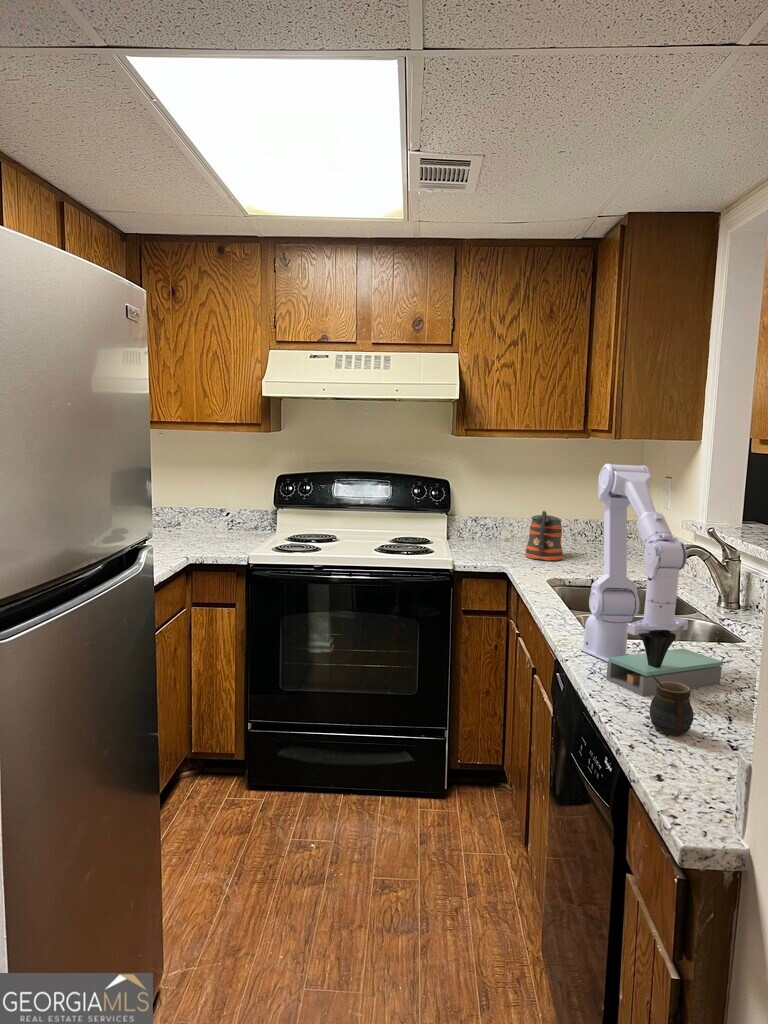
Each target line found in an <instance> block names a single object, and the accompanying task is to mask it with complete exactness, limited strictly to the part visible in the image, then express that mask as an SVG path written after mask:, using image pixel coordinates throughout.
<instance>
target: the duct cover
mask: <svg viewBox="0 0 768 1024" xmlns="http://www.w3.org/2000/svg"><path fill="white" fill-rule="evenodd" d="M609 662H612V663H614V664H617V665H619V666H622V667H624V668H627V669H629V670H632V671H634V672H637V673H639V674H642V675H644V676H652V675H660V674H667V673H674V672H681V671H688V670H695V669H702V668H709V667H716V666H722V667H723V666H724V661H722V660H718V659H717V658H713V657H711V656H707V655H704V654H702V653H699V652H695V651H692V650H689V649H686V648H676V649H668V650H667V652H666V655H665V657H664V659H663V662H662V665H661V667H659V668H655V667H652V666H649V665H648V661H647V655H646V652H643V653H642V652H641V653H636V654H635V653H634V654H628V655H625V656H617V657H609ZM651 674H652V675H651Z"/></svg>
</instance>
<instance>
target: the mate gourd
mask: <svg viewBox="0 0 768 1024" xmlns="http://www.w3.org/2000/svg"><path fill="white" fill-rule="evenodd" d="M651 675H652V674H651ZM652 677H653V678H654V679H655V681H656V682H657V683H658V684H657V688H656V692H657V693H656V694H654V696H653V698H652V699H651V702H650V705H649V718H650V722H651V724H652V726H653V727H655V729H656V730H657V731H658V732H660V733H662V734H665V735H670V736H671V735H672V736H674V737H678V736H683V735H684V734H686V733H687V732H689V730H690V729H691V727H692V725H693V722H694V718H695V717H694V716H695V714H694V710H693V706H692V704H691V699H690V698H691V692H692V691H691V689H690V688H689V687H688V686H686V685H684V684H681V683H677V682H670V681H665V682H659V681H658V679H656V678H655V676H654V675H652Z"/></svg>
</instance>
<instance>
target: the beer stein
mask: <svg viewBox="0 0 768 1024" xmlns="http://www.w3.org/2000/svg"><path fill="white" fill-rule="evenodd" d="M530 519H531V522H530V527H529V532H528V533H529V534H528V541H527V544H526V547H525V548H526V549H525V557H526V558H528V559H532V560H537V561H547V562H551V561H552V562H556V561H561V560H563V547H562V537H563V527H562V526H563V525H562V519H560V518H558V517H556V516H553V515H550V514H549V515H548V514H547V511H546V510H543V511H542V513H541V514H537V515H533V516H531V517H530Z"/></svg>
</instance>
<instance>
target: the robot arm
mask: <svg viewBox="0 0 768 1024" xmlns="http://www.w3.org/2000/svg"><path fill="white" fill-rule="evenodd" d="M651 479H652V476H651V471H650V469H649V467H648V466H646V465H645V464H644V465H643V464H642V465H634V464H633V465H631V464H630V465H629V464H613V463H612V464H611V463H605V464H604V465H603V466H602V467H601V468H600V471H599V475H598V485H597V486H598V500H599V501H600V502H602V503H603V505H604V507H603V509H604V511H603V512H604V513H603V514H604V515H603V517H604V520H603V535H604V536H603V574H602V576H600V577H599V578H597V579H596V580H595V581H594V582H592V583H591V588H590V595H589V598H588V599H589V600H588V606H589V611H590V612H591V615H589V616H588V617H587V619H586V621H585V624H584V632H583V634H584V635H583V643H582V644H583V645H582V646H583V647H581V648H580V649H579V650H580V651H582V652H584V653H585V654H589V655H591V656H592V657H595V658H597V659H600V660H602V661H604V662H607V663H608V662H609V657H617V656H625V655H629V654H627V644H628V635H632V636H638V635H639V637H640V638H641V641H642V644H643V646H644V650H645V653H646V655H647V661H648V665H649V666H652V667H655V668H659V667H661V665H662V662H663V659H664V657H665V655H666V652H667V650H669V649H670V647H671V646H672V644H673V642H674V641H676V638H677V635H676V633H674V631H679V630H682V631H687V630H688V627H689V620H687V619H684V618H682V617H681V618H680V617H679V618H675V617H676V606H677V605H676V604H677V595H678V586H679V574H680V571H681V570H683V569H684V568H685V566H686V563H687V560H688V556H687V555H688V552H687V548H686V546H685V543H684V542H683V541H682V540H679V539H678V537H674V535H673V534H672V531H671V529H670V527H669V525H668V522H667V520H666V518H665V516H664V514H662V513H661V512H657V511H656V508H655V505H654V502H653V499H652V495H651V493H650V487H651V483H652V482H651V481H652V480H651ZM630 504H631V506H632V509H633V510H634V512H635V514H636V515H637V517H638V520H637V521H636V529H637V531H638V533H639V535H640V538H641V540H642V543H643V545H644V548H645V549H644V551H643V561H644V565H645V570H644V572H645V576H646V577H647V579H646V590H645V600H644V601H645V602H644V609H643V610H644V611H643V619H640V620H637V621H633V618H635V617H636V616H637V614H638V613H639V610H640V598H639V595H638V587H637V584H636V583H634V582H633V580H631V579H630V578H629V577H628V576H627V571H628V568H627V567H628V565H627V564H628V563H627V562H628V561H627V560H628V559H627V557H628V552H627V551H628V549H627V548H628V545H627V544H628V543H627V539H628V537H627V535H628V534H627V533H628V528H627V526H628V513H627V512H628V511H627V510H628V507H630ZM608 588H611V589H608ZM612 588H613V589H612ZM632 621H633V622H632ZM672 631H673V632H672Z"/></svg>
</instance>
